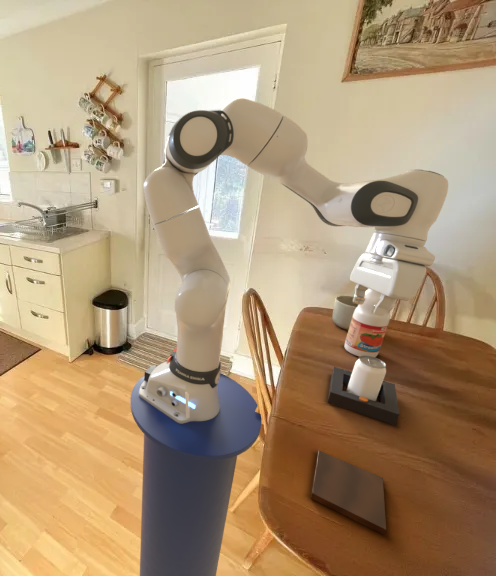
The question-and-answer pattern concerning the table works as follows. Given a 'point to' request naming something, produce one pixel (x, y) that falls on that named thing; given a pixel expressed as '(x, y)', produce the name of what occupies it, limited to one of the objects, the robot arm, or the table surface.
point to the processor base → (362, 405)
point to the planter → (344, 311)
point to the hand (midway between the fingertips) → (366, 308)
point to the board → (349, 491)
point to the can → (367, 377)
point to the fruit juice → (367, 327)
